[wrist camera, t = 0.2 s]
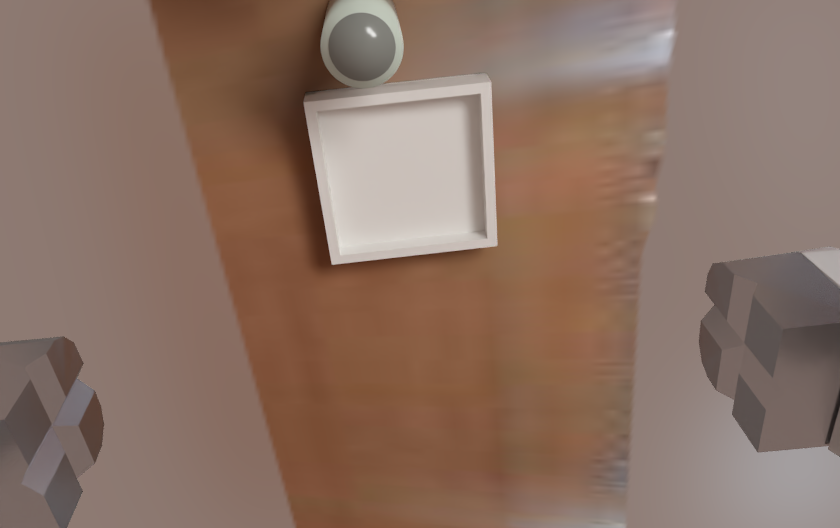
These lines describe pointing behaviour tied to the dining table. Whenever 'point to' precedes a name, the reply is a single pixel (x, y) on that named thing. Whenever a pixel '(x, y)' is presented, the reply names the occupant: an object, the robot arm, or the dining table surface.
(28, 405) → the robot arm
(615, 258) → the dining table surface
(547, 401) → the dining table surface
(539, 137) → the dining table surface
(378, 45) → the sage cup
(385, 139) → the grey tray
